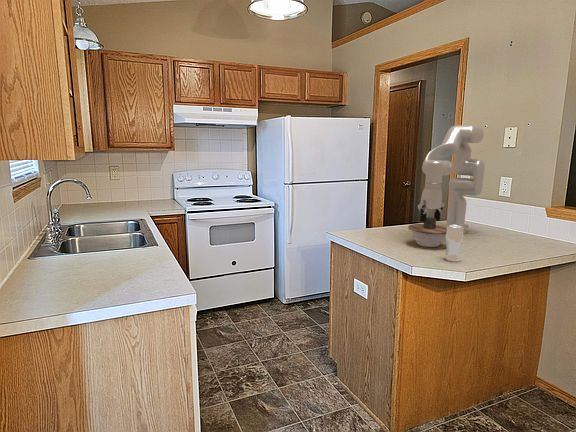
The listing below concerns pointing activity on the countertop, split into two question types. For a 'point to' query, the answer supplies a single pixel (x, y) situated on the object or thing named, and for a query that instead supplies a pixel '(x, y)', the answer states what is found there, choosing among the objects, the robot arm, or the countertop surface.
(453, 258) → the beer glass
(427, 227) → the walnut lid
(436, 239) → the paper bowls
